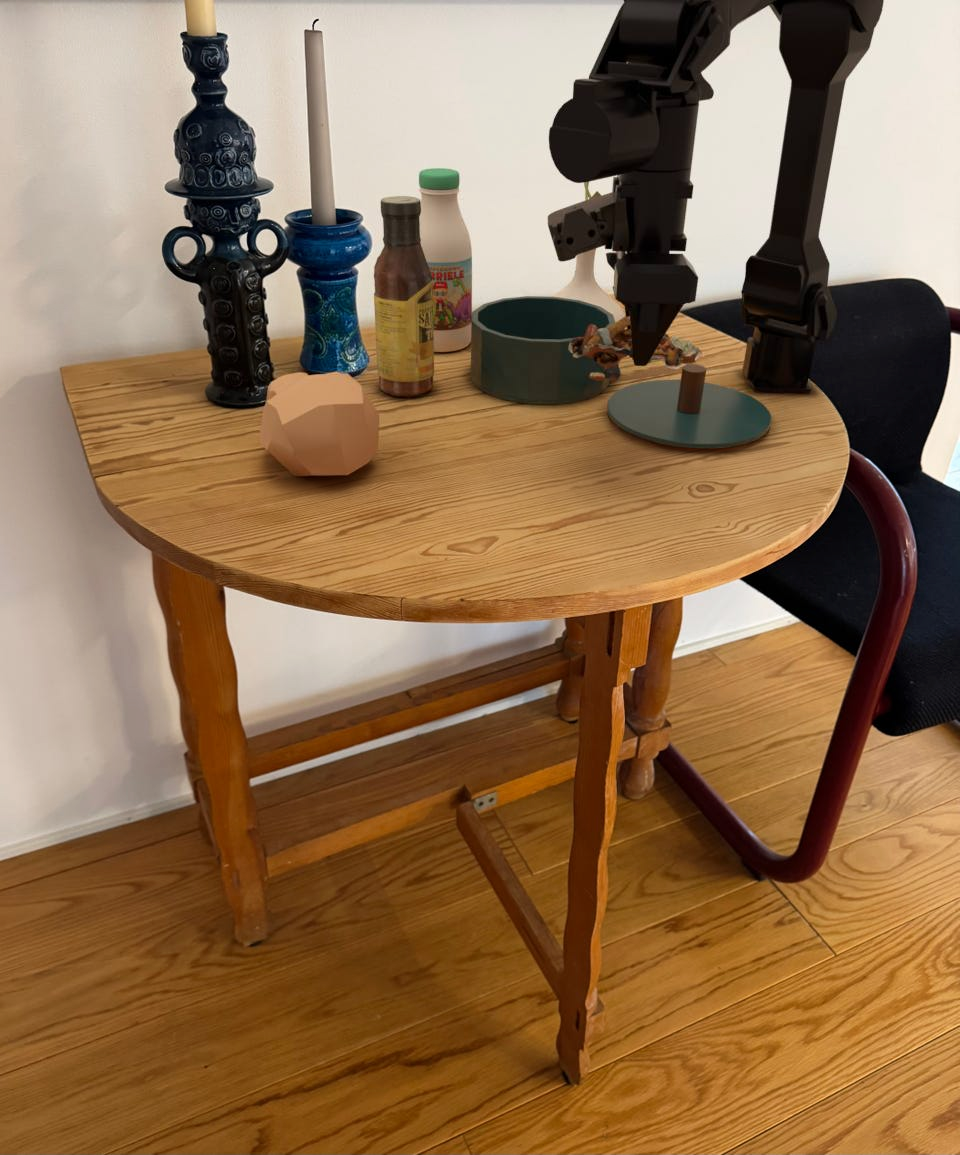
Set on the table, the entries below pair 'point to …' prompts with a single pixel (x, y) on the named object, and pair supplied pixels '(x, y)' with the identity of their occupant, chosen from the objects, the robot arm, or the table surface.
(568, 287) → the flower in vase
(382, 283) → the sauce bottle
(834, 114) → the robot arm
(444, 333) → the milk bottle
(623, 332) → the pastry
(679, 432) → the lid
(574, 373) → the pot
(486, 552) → the table surface
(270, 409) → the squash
